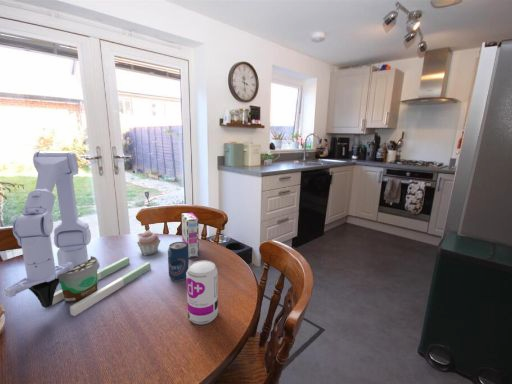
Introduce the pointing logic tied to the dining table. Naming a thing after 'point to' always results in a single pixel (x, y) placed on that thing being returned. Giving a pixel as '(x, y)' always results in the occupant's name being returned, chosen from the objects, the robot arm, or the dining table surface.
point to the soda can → (178, 260)
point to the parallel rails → (107, 289)
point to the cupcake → (148, 243)
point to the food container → (80, 281)
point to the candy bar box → (190, 233)
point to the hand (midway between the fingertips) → (47, 305)
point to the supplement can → (202, 292)
